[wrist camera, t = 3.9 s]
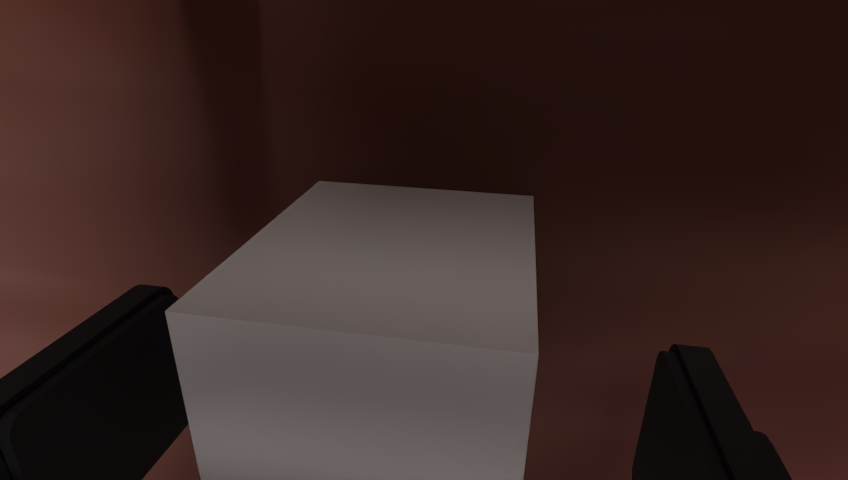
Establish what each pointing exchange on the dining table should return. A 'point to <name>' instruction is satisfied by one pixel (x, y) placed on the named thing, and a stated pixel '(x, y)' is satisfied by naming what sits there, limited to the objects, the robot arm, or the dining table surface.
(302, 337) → the gray cube
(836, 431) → the dining table surface
